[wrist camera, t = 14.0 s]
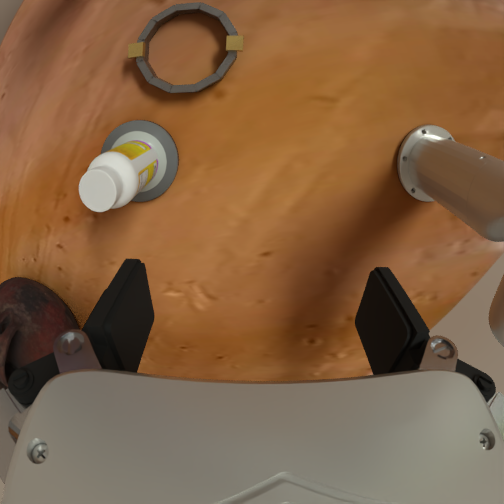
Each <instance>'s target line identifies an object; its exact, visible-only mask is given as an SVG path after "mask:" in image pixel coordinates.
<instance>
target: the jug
mask: <svg viewBox="0 0 504 504" xmlns="http://www.w3.org/2000/svg"><path fill="white" fill-rule="evenodd" d="M71 329H78V330H80V329H79V327H78V324H77V322H76V319H75V318H74V316H73V314H72V313H71V311H70V310H69V308H68V307H67V305H66V304H65V303H64V302H63V301H62V300H61V299H60V298H59V297H58V296H57V295H56V294H55V293H54V292H53V291H51V290H50V289H49V288H47V287H46V286H44V285H42V284H40V283H38V282H36V281H33V280H30V279H27V278H21V277H15V278H11V279H8V280H6V281H4V282H3V283H1V284H0V390H1V389H2V388H4V389H5V390H6V389H7V388H8V381H9V378H10V376H11V374H12V373H13V372H14V371H15V370H17V369H19V368H21V367H23V366H25V365H27V364H29V363H31V362H33V361H35V360H38V359H40V358H42V357H44V356H46V355H48V354H50V353H52V352H54V350H53V345H54V341H55V340H56V338H57V337H58V336H59V335H60V334H61V333H63V332H65V331H67V330H71Z"/></svg>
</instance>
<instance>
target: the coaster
mask: <svg viewBox="0 0 504 504" xmlns="http://www.w3.org/2000/svg"><path fill="white" fill-rule="evenodd" d="M132 140H142V141H145V142H147V143H149V144H150V145H151V146H152V147H153V148H154V149H155V151H156V152H157V155H158V159H159V166H158V171H157V173H156V175H155V176H154V178H153V179H152V180H151V181H150V182H149V183H148V184H147V185H146V186H145V187H144V188H143V189H142V190H141V191H140V192H139V193H138V194H137V195H136V196H135V197H134V198H133V199H132V200H131V201H135V202H143V201H149V200H152V199H154V198H156V197H158V196H160V195H161V194H163V193H164V192H165V191H166V190H167V189H168V187H169V186H170V185H171V184H172V182H173V180H174V179H175V176H176V174H177V170H178V165H179V156H178V150H177V147H176V144H175V142H174V140H173V138H172V137H171V135H170V134H169V133H168V132H167V131H166V130H165V129H164V128H163V127H161V126H160V125H158V124H156V123H154V122H151V121H146V120H135V121H130V122H127V123H124V124H122V125H120V126H119V127H117V128H116V129H114V130H113V131H112V132H111V133H110V135H109V136H108V137H107V139H106V140H105V143H104V145H103V147H102V151H101V154H103V153H105V152H107V151H109V150H111V149H113V148H115V147H117V146H120V145H122V144H124V143H126V142H129V141H132Z"/></svg>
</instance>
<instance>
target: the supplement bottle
mask: <svg viewBox="0 0 504 504" xmlns="http://www.w3.org/2000/svg"><path fill="white" fill-rule="evenodd" d="M158 166H159V159H158V155H157V152H156V151H155V149H154V148H153V147H152V146H151V145H150V144H149V143H147V142H145V141H142V140H132V141H129V142H126V143H124V144H122V145H120V146H117V147H115V148H113V149H111V150H109V151H107V152H105V153H103V154H101V155H99V156H98V157H96V158H95V159H94V160H93V161H92V162H91V164H90V166H89V168H88V170H87V172H86V173H85V174H84V175H83V177H82V178H81V180H80V183H79V194H80V197H81V200H82V201H83V203H84V204H85V205H86V206H87V207H88V208H89V209H91V210H92V211H95V212H104V211H107V210H109V209H110V208H112V209H113V208H119V207H122V206H124V205H126V204H127V203H129V202H130V201H131V200H132V199H133V198H134V197H135V196H136V195H137V194H138V193H139V192H140V191H141V190H142V189H143V188H144V187H145V186H146V185H147V184H148V183H149V182H150V181H151V180H152V179H153V178H154V176H155V175H156V173H157V171H158Z"/></svg>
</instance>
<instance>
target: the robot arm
mask: <svg viewBox="0 0 504 504" xmlns="http://www.w3.org/2000/svg"><path fill="white" fill-rule="evenodd" d="M402 158H403V159H402ZM397 169H398V175H399V179H400V181H401V183H402V186H403V187H404V188H405V190H406V191H407V192H408V193H409V194H410V195H411V196H413V197H414V198H416V199H418V200H420V201H425V202H431V201H436V202H438V203H439V204H441V205H442V206H443V207H445V208H446V209H447V210H449V211H450V212H452V213H453V214H454V215H455V216H457V217H458V218H459V219H461V220H462V221H463V222H465V223H466V224H467V225H468V226H470V227H471V228H472V229H473V230H475V231H476V232H477V233H478V234H480V235H481V236H482V237H484V238H486V239H488V240H490V241H495V242H503V241H504V161H502V160H500V159H498V158H495V157H493V156H491V155H488V154H486V153H483V152H481V151H478V150H476V149H473V148H471V147H468V146H465V145H463V144H460V143H457V142H455V140H454V138H453V137H452V136H451V135H450V133H449V132H447V131H446V130H445V129H443V128H441V127H439V126H435V125H422V126H419V127H417V128H415V129H414V130H412V131H411V132H410V133H409V134H408V135H407V136H406V137H405V139H404V141H403V143H402V144H401V147H400V150H399V154H398V159H397ZM153 321H154V310H153V305H152V300H151V295H150V290H149V285H148V279H147V274H146V268H145V264H144V263H141V261H140V260H139V259H126V260H125V261H124V262H123V264H122V266H121V267H120V269H119V270H118V272H117V274H116V275H115V277H114V278H113V280H112V282H111V283H110V285H109V286H108V288H107V289H106V290H105V291H104V292H103V294H102V296H101V297H100V299H99V301H98V302H97V304H96V306H95V307H94V309H93V311H92V313H91V314H90V316H89V318H88V320H87V322H86V323H85V325H84V327H83V329H82V330H78V329H71V330H67V331H65V332H63V333H61V334H60V335H59V336H58V337H57V338H56V340H55V341H54V345H53V350H54V352H52V353H50V354H48V355H46V356H44V357H42V358H40V359H38V360H35V361H33V362H31V363H29V364H27V365H25V366H23V367H21V368H19V369H17V370H15V371H14V372H13V373H12V374H11V376H10V378H9V381H8V388H7V389H6V390H5V389H4V388H2V389H1V390H0V478H1V479H2V481H3V483H4V484H5V487H4V491H3V497H2V503H1V504H504V396H503V395H502V394H501V393H500V392H498V393H497V394H496V393H495V390H496V389H495V388H496V387H495V384H494V382H493V380H492V379H491V377H490V376H488V375H487V374H486V373H484V372H482V371H480V370H478V369H476V368H474V367H472V366H470V365H469V364H467V363H465V362H463V361H461V360H459V359H457V358H458V350H457V348H456V346H455V344H454V343H453V342H452V341H451V340H449V339H447V338H445V337H443V336H433V337H431V338H430V336H429V334H428V333H429V332H430V331H429V329H428V327H427V326H426V324H425V323H424V321H423V319H422V318H421V316H420V314H419V313H418V311H417V310H416V308H415V306H414V305H413V303H412V302H411V300H410V299H409V297H408V295H407V294H406V292H405V291H404V289H403V288H402V286H401V285H400V283H399V282H398V280H397V279H396V277H395V276H394V274H393V273H392V272H391V270H390V269H389V268H388V267H376V268H375V269H374V270H372V271H371V272H370V274H369V278H368V281H367V284H366V287H365V291H364V294H363V297H362V300H361V303H360V306H359V309H358V312H357V315H356V318H355V326H356V329H357V331H358V334H359V336H360V339H361V342H362V344H363V347H364V350H365V352H366V355H367V358H368V361H369V363H370V366H371V369H372V372H373V375H369V376H360V377H349V378H337V379H321V380H300V381H233V380H211V379H195V378H183V377H172V376H162V375H152V374H144V373H137V370H138V367H139V364H140V360H141V357H142V354H143V351H144V348H145V345H146V342H147V339H148V336H149V333H150V330H151V327H152V324H153ZM489 325H490V328H491V331H492V333H493V335H494V336H495V338H496V339H497V340H498V342H499V343H500V344H501V345H502V346H504V275H503V277H502V280H501V282H500V285H499V287H498V289H497V291H496V294H495V296H494V298H493V301H492V304H491V307H490V311H489Z"/></svg>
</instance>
